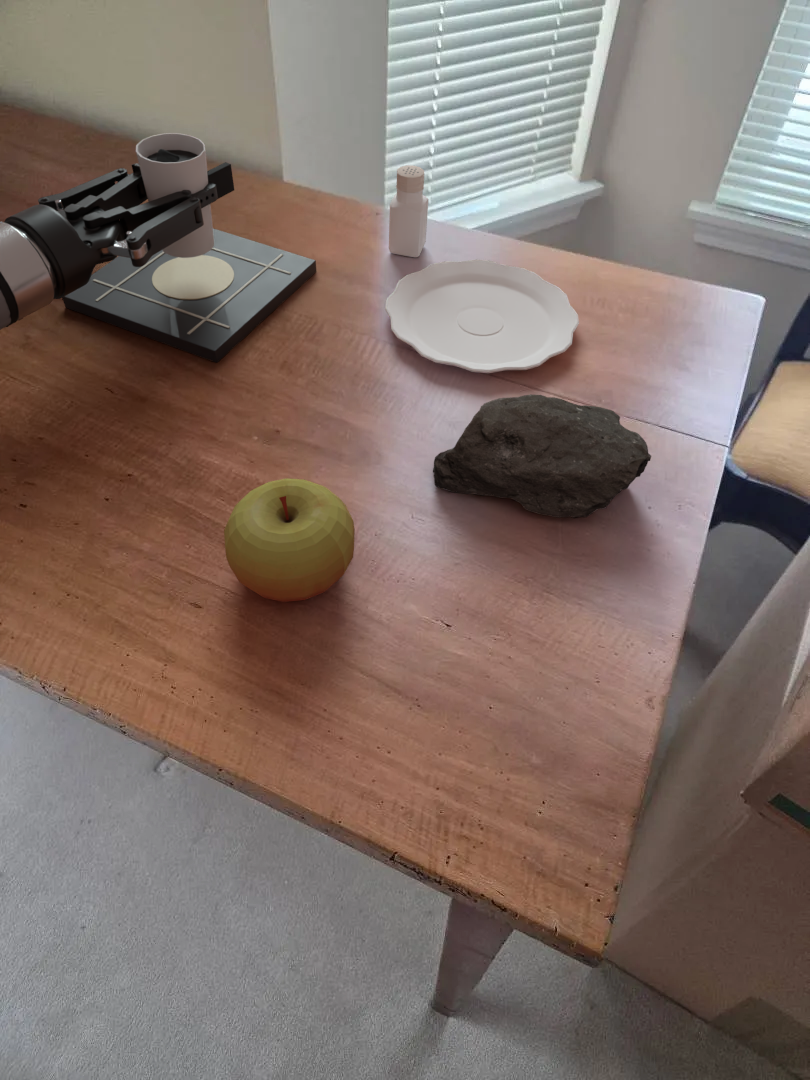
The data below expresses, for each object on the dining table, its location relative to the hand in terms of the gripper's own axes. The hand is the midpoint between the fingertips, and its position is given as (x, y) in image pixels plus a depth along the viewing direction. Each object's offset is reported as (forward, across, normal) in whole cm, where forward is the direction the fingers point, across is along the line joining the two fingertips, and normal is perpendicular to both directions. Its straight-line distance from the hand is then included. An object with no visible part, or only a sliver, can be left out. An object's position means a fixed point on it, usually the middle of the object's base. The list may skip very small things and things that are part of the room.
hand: (213, 170), depth 79 cm
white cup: (-5, 0, -6) cm, 8 cm away
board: (-5, 0, -12) cm, 13 cm away
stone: (-10, +46, -12) cm, 49 cm away
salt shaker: (+17, +14, -12) cm, 25 cm away
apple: (-30, +35, -12) cm, 47 cm away
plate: (+9, +29, -12) cm, 33 cm away
